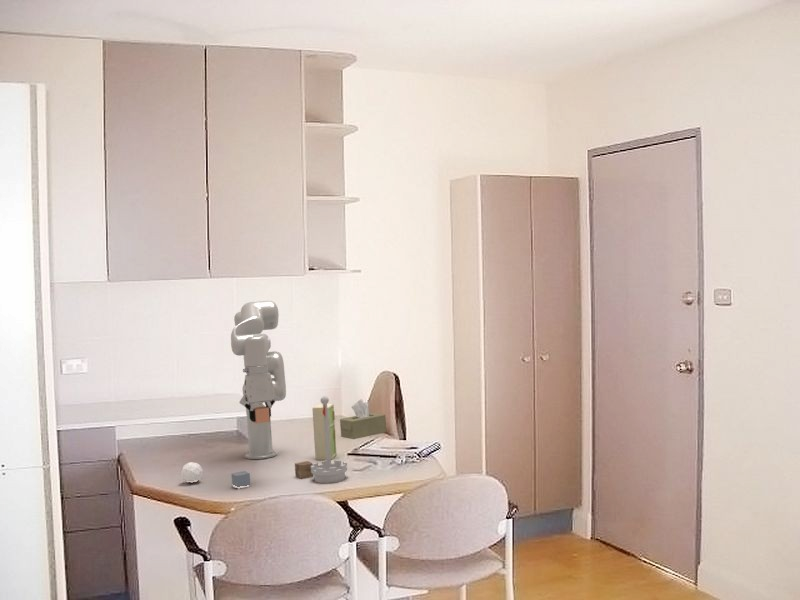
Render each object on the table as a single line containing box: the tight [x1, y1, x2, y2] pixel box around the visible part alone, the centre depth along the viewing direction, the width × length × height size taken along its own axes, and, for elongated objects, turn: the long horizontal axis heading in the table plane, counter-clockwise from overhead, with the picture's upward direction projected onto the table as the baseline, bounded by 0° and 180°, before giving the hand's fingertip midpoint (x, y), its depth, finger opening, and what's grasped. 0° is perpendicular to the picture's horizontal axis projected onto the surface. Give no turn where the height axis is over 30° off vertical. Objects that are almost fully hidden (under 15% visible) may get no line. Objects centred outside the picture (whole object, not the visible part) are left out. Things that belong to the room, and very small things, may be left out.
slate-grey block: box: [231, 470, 252, 487], centre depth 321 cm, size 5×5×5 cm
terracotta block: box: [252, 405, 271, 423], centre depth 327 cm, size 5×5×5 cm
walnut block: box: [294, 460, 314, 480], centre depth 331 cm, size 5×5×5 cm
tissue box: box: [339, 399, 387, 440], centre depth 403 cm, size 19×10×16 cm, turn 128°
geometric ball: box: [180, 461, 204, 482], centre depth 331 cm, size 8×8×8 cm
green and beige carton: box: [312, 403, 337, 461], centre depth 359 cm, size 8×7×21 cm
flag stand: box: [311, 395, 348, 484], centre depth 324 cm, size 13×13×30 cm
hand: (260, 419), depth 328 cm, fingers closed on terracotta block, 5 cm apart
